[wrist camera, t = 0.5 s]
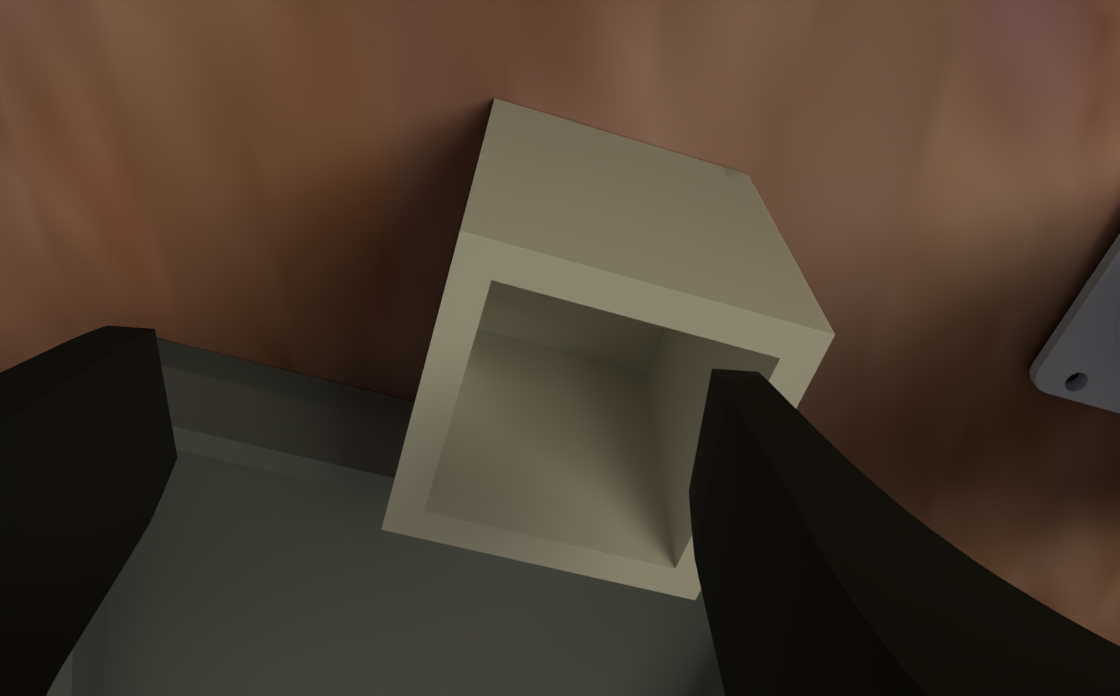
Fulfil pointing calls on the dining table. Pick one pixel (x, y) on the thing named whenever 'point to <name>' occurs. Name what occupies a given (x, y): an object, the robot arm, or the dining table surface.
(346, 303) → the dining table surface
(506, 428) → the open box
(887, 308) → the dining table surface
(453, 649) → the tray
